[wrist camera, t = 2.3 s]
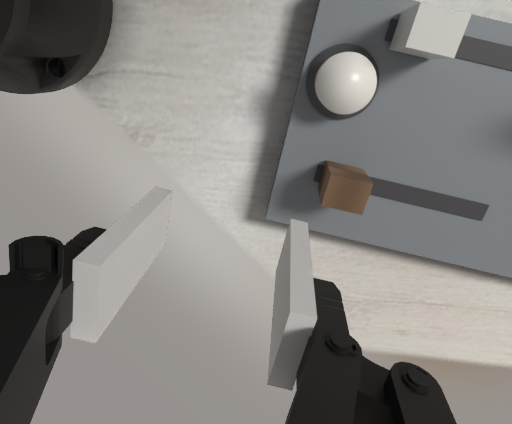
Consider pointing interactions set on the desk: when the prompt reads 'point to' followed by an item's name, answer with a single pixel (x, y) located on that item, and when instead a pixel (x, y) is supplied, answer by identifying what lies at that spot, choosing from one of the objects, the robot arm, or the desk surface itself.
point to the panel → (408, 141)
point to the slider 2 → (429, 31)
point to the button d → (345, 82)
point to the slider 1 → (344, 187)
